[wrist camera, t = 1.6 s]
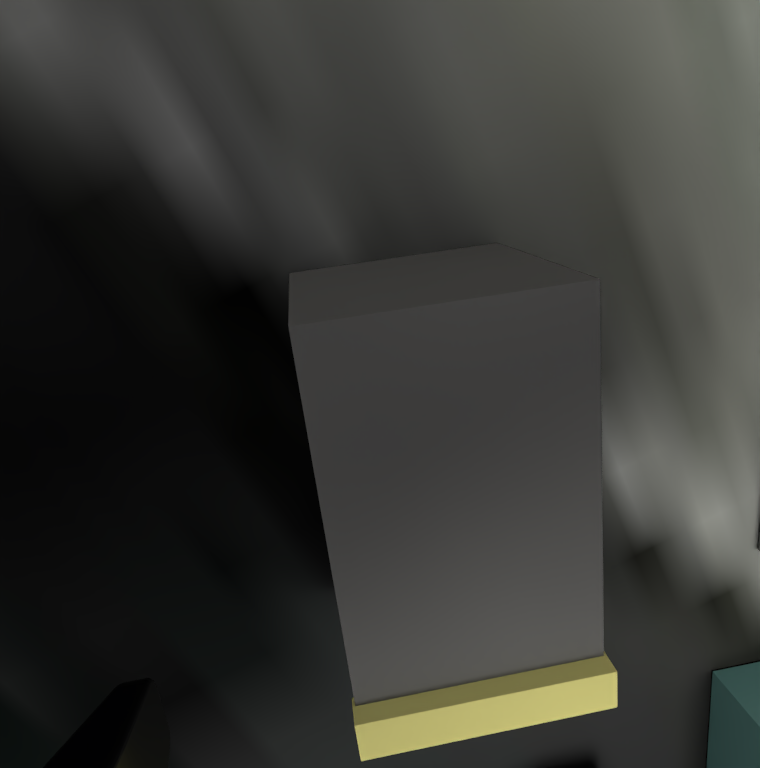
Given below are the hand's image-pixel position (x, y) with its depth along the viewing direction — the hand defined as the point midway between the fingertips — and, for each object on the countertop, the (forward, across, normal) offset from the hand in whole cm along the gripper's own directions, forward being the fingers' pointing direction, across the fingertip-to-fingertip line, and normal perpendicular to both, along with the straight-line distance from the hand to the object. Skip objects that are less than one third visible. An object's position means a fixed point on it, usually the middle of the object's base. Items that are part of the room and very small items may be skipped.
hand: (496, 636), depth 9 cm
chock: (+7, 0, 0) cm, 7 cm away
